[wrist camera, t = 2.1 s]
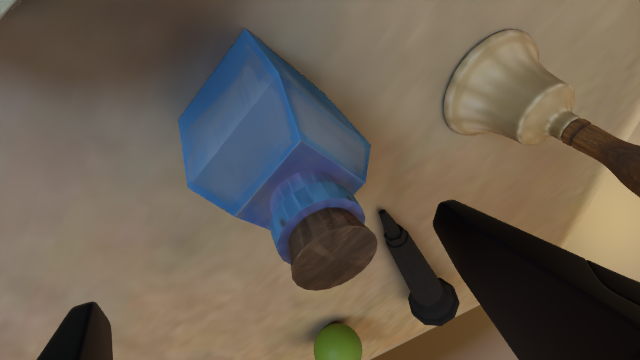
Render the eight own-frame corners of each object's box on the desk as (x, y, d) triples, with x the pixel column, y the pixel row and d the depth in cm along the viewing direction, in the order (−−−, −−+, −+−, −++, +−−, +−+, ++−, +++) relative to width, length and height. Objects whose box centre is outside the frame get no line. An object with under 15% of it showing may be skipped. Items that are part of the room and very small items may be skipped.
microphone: (350, 199, 33) (411, 295, 45) (357, 248, 29) (423, 340, 41) (404, 179, 32) (453, 284, 43) (420, 226, 27) (470, 329, 39)
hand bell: (546, 13, 24) (907, 117, 13) (521, 112, 30) (756, 246, 18) (445, 51, 23) (744, 204, 12) (439, 147, 29) (636, 315, 17)
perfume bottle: (263, 165, 23) (333, 325, 14) (178, 120, 19) (203, 303, 11) (324, 93, 22) (443, 225, 13) (244, 28, 18) (339, 154, 9)
